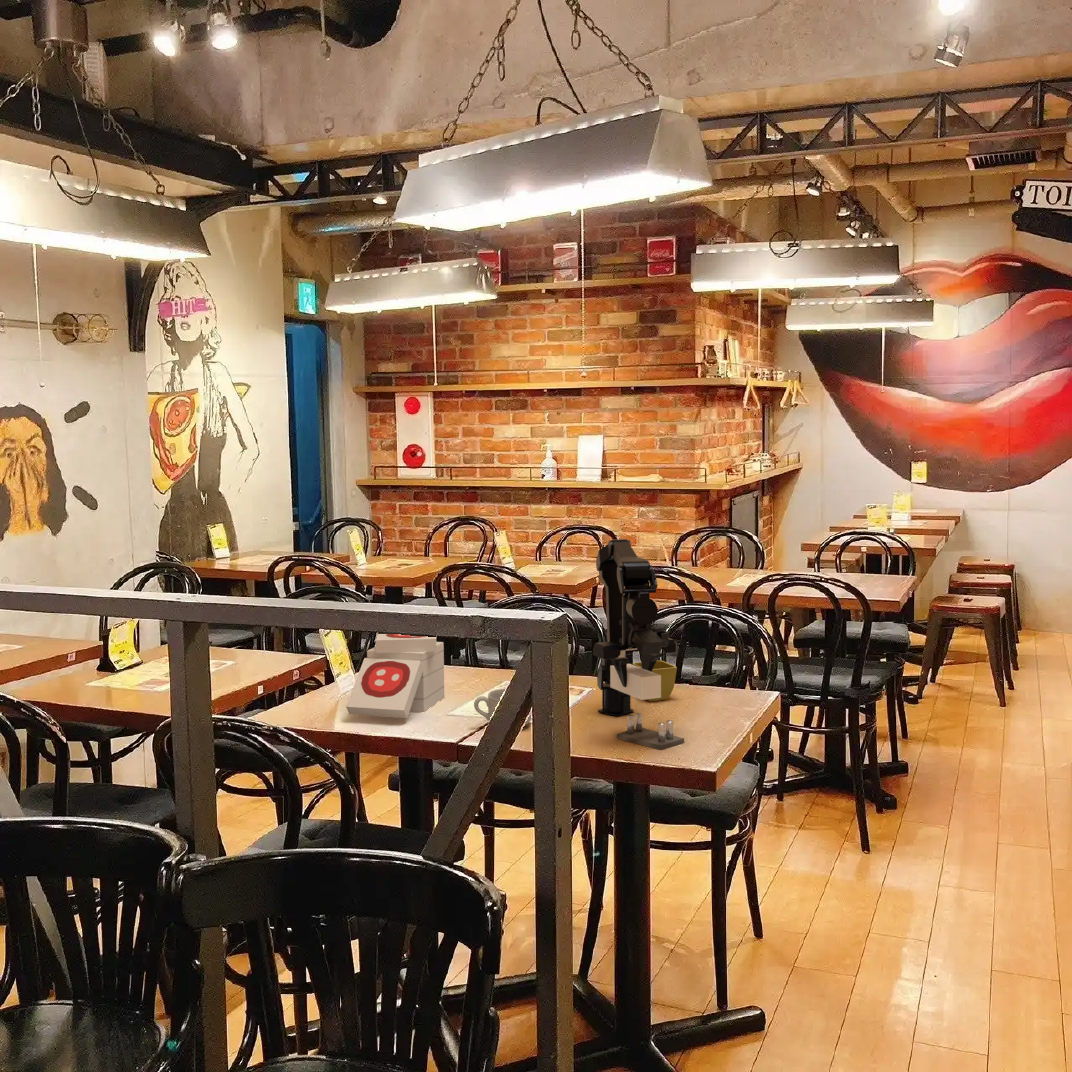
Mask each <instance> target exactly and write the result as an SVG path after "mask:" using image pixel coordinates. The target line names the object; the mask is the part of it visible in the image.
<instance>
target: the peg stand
mask: <svg viewBox="0 0 1072 1072" xmlns="http://www.w3.org/2000/svg"><path fill="white" fill-rule="evenodd" d="M626 719H627V720H626V724H627V725H626V727H627V728H626V731H622V732H620V733H616V739H617V740H621V741H625V742H629V743H633V744H636V745H640V746H644V747H649V748H652V749H656V750H659V751H663V750H666V749H668V748H672V747H675V746H678V745H681V744H684V743H685V738H684V737H681V736H677V735H674V720H671V719H670V720H665V722H658V723H657V731H656V730H654V729H653V730H652V729H649V728H643V713H641V712H636V713H635V715H633V714H630V715H627V717H626Z"/></svg>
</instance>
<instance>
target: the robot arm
mask: <svg viewBox="0 0 1072 1072" xmlns="http://www.w3.org/2000/svg"><path fill="white" fill-rule="evenodd" d="M595 566H596V567H595V568H596V571H597V572H598V578H599V580H600V581H601V582H602V585H603V586H604V588H605V601H606V602H605V603H606V604H605V605H606V607H605V608H606V633H607V634H606V636H607V637H606V639H607V641H602V642H595V643H594V645H593V647H592V655H593V656H595V657H597V658H600V659H601V664H600V665H599V667H598V668H599V669H598V672H597V677H596V680H597V682H596V683H597V687H598V689H599V690H600V691H601V694H602V695H601V696H602V697H601V701H602V702H601V706H602V708H599V709H597V712H598V713H601V714H605V715H610V716H615V717H619V716H624V715H627V714H631V713H634V712H635V710H634V709H631V708H632V707H631V697H632V696H630V695H628V694H625V693H623V692H621V691H618V690H616V689H613V688H611V687H610V666H613V665H614V667H615V669H616V671H617V674H618V676H619V678H620V681H621V683H622V685H623V687H627V664H632V665H634V664H633V663H634V660H633V656H632V654H630V653H636V652H639V654H640V657H641V658H640V660H641V661H640V662H642V668H643V669H645V670H648V671H651V672H652V670H653V667H654V665H655V663H656V661H659V660H660V658H664V657H665V654H669V653H676V652H678V648H677V647H678V644H677V642H676V640H675V639H674V638H670V637H669V632H668V631H667V630H666V629H663V630H658V631H653V629H652V628H653V627H652V626H653V625H652V622H653V621H654V620H656V618H657V615H658V612H659V610H658V609H659V608H658V605H657V603H656V601H654V600H653V599H652V598H651V597H650V594H656V593H657V589H658V581H657V576H656V571H655V570H654V567H653V565H651V564H650V561H649V560H648V559H646V558H644V557H639V556H638V555H637V554H636V552H635V550H634V549H633V547H632V544H631V540H630V539H626V538H622V539H621V538H618V539H617V538H615V539H613V538H612V539H611V540H608V543H607V544H606V545H605V546H603V547H602V548H601V549H599V550H598V552H597V555H596V559H595ZM662 651H663V653H662ZM634 666H635V665H634Z"/></svg>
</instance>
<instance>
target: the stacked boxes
mask: <svg viewBox="0 0 1072 1072" xmlns="http://www.w3.org/2000/svg"><path fill="white" fill-rule="evenodd" d="M444 646H445V645H444V641H437V636H436V637H428V636H410V635H401V634H378V633H377V634H376V639H375V646H374V647H372V648H370V649H368V650H367V651H366V657H364V659H363V661H362V664H361V667H360V668H359V672H358V674H357V677H356V679H355V681H354V684H353V687H352V690H351V693H350V695H349V698H348V700H347V703H346V706H345V708H346V710H347V712H348V714H349V715H353V716H369V717H384V718H398V719H400V718H401V719H408V718H409V714H410V713H422V712H424V713H426V712H427V711H429V710H430V709H431V708H433V707H435V706H436V705H437V704H438V703H437V702H438V701H440V702H442V701H443V700H444V699H445V658H444V657H445V655H444V653H445V652H444V651H445V648H444ZM443 698H444V699H443ZM442 699H443V700H442ZM441 700H442V701H441ZM436 703H437V704H436ZM435 704H436V705H435ZM430 707H431V708H430ZM429 708H430V709H429ZM428 709H429V710H428Z"/></svg>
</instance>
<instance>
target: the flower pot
mask: <svg viewBox="0 0 1072 1072" xmlns="http://www.w3.org/2000/svg"><path fill="white" fill-rule="evenodd" d="M633 664H634V665H635V666H637V667H640V668H642V661H640V662H639V661H638V662H633ZM677 670H678V668H677V666H675V664H674V665H673V664H671V663H669V662H666V661H664V660H660V659H659V660H657V661H656V663H655V665H654V667H653V670H652V672H654V673H656V674H659V675H661V698H654V699H646V700H647V701H648V702H650V703H651V702H657V701H666V700H668V699H669V697H670V696H671V694H672V692H673V690H674V688H675V682H676V677H677ZM646 700H645V701H646Z"/></svg>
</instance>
